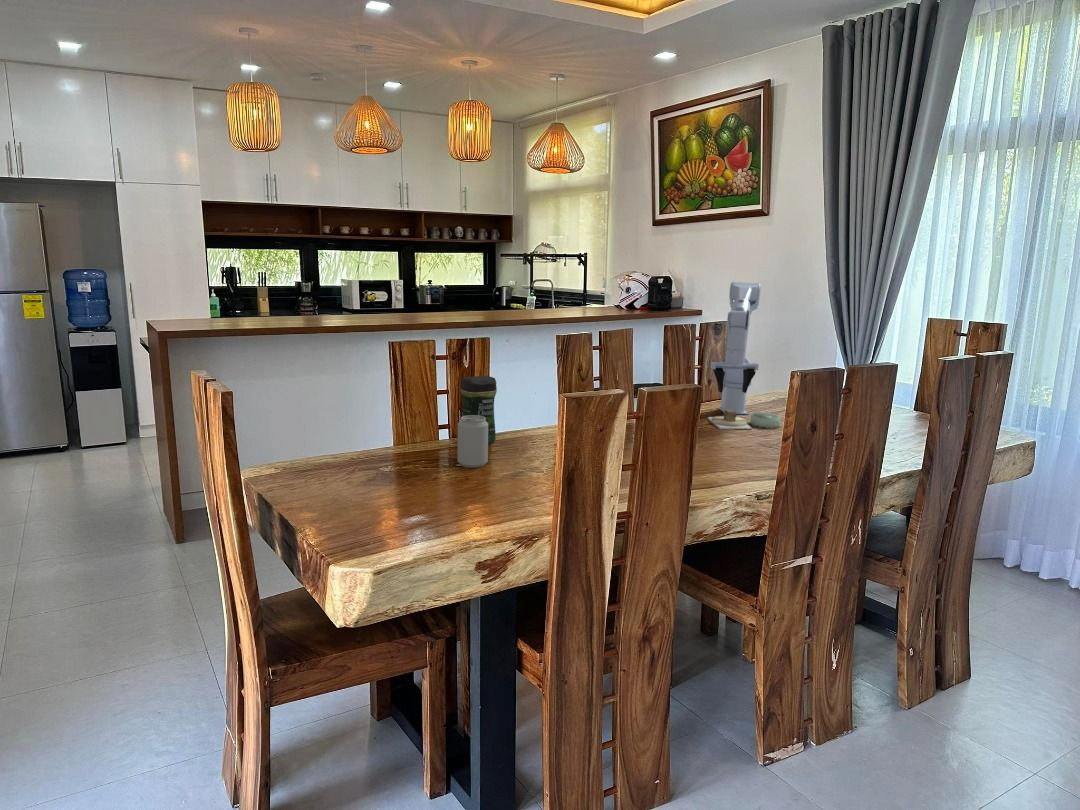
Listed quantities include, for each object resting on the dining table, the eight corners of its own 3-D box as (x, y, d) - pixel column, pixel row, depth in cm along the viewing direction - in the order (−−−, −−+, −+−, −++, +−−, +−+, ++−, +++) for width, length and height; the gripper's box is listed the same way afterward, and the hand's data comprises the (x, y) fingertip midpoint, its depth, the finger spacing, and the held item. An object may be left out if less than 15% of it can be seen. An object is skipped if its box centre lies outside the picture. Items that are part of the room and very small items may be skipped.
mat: (707, 418, 239) (707, 417, 239) (737, 419, 240) (738, 417, 239) (719, 429, 225) (720, 427, 225) (751, 429, 226) (752, 427, 226)
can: (451, 463, 182) (451, 416, 179) (473, 458, 187) (474, 412, 184) (471, 470, 177) (471, 422, 174) (494, 464, 182) (494, 417, 180)
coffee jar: (470, 448, 196) (470, 380, 192) (455, 441, 202) (455, 375, 198) (500, 443, 202) (501, 377, 198) (485, 437, 208) (486, 372, 204)
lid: (707, 418, 238) (708, 406, 237) (740, 418, 238) (741, 407, 237) (717, 426, 227) (718, 414, 226) (752, 426, 227) (753, 414, 227)
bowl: (746, 421, 237) (747, 412, 237) (773, 421, 238) (774, 412, 237) (755, 427, 228) (756, 418, 228) (783, 428, 229) (784, 419, 228)
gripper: (716, 350, 223) (713, 394, 226) (763, 351, 224) (759, 394, 227) (710, 347, 230) (707, 389, 233) (755, 348, 231) (751, 390, 234)
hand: (732, 392), depth 231 cm, fingers open, 7 cm apart
